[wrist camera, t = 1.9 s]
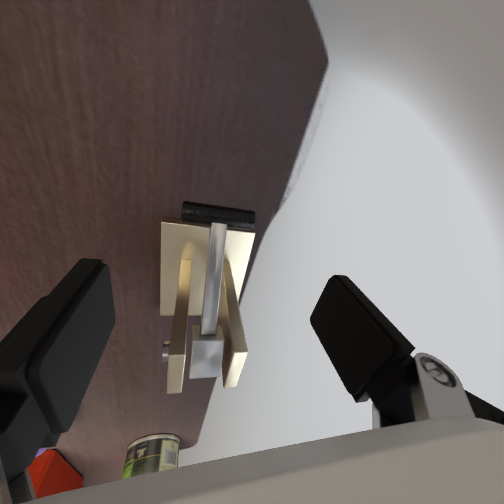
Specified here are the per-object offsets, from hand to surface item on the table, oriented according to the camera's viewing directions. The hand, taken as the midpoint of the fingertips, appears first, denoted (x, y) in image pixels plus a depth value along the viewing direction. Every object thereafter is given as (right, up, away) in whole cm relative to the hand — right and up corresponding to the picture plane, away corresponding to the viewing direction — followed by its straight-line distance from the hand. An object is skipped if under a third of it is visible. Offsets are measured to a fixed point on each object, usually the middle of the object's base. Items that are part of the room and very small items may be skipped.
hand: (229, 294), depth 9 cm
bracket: (-4, 0, +15) cm, 16 cm away
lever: (-2, -1, +7) cm, 8 cm away
